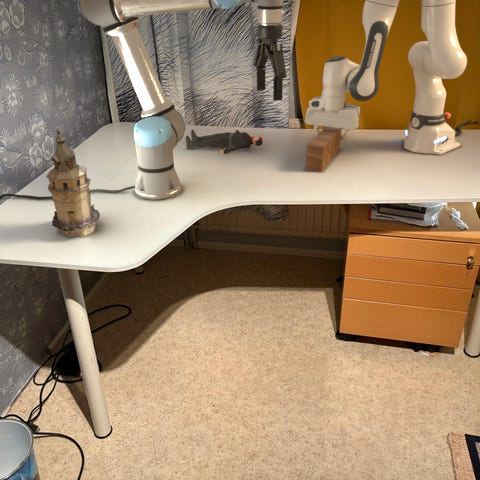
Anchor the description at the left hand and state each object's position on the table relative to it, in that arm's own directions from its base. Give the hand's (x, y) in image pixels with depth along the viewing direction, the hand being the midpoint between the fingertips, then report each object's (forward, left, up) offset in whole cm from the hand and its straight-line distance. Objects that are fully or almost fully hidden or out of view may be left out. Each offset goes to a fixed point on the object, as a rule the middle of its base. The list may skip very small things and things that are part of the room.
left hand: (269, 95), depth 171 cm
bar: (+23, +17, -29) cm, 41 cm away
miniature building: (-60, -29, -29) cm, 72 cm away
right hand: (+28, +25, -24) cm, 44 cm away
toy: (-12, +35, -29) cm, 47 cm away
